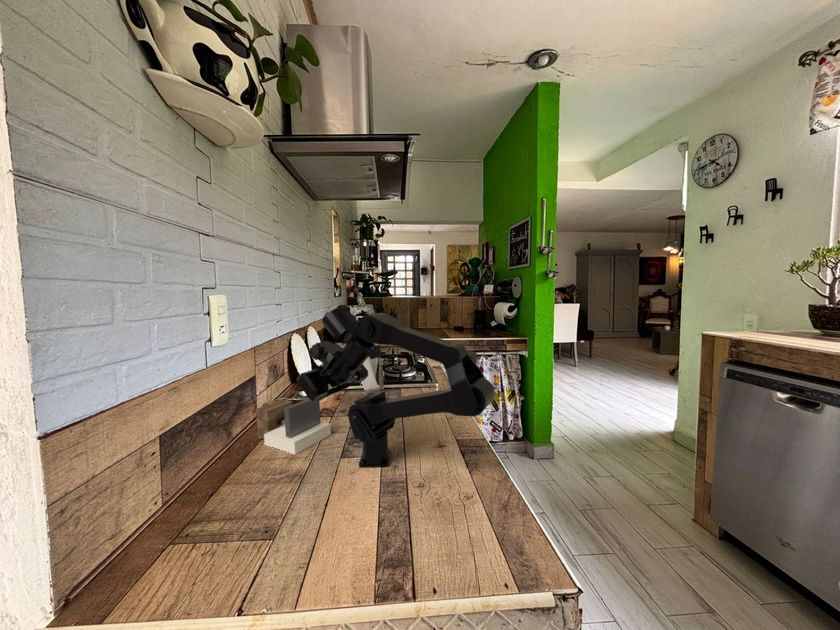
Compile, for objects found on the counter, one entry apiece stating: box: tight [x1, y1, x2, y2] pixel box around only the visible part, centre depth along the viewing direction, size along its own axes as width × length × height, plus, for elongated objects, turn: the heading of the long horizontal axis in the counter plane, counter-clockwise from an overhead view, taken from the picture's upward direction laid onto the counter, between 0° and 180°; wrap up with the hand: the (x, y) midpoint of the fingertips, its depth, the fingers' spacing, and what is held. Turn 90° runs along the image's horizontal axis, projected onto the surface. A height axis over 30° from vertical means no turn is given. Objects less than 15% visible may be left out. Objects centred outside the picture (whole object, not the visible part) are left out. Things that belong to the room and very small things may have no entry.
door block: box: [263, 421, 332, 456], centre depth 88 cm, size 10×12×3 cm
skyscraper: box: [355, 315, 385, 393], centre depth 131 cm, size 8×8×28 cm
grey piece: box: [282, 398, 322, 438], centre depth 88 cm, size 8×10×7 cm
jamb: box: [256, 399, 293, 439], centre depth 92 cm, size 4×8×8 cm, turn 152°
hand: (318, 398), depth 84 cm, fingers closed
